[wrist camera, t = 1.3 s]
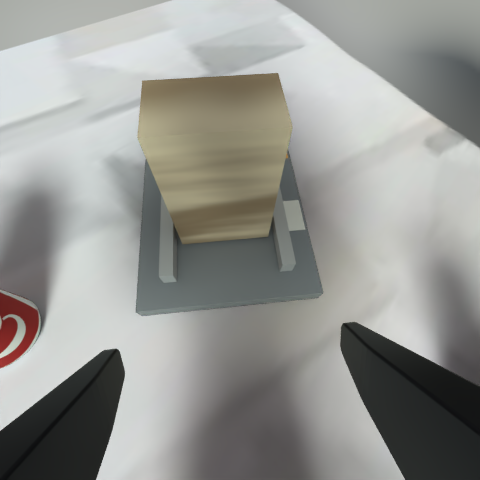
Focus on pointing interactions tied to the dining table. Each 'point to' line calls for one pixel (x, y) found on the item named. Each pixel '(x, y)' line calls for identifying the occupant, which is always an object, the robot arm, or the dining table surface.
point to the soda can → (17, 327)
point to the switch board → (224, 259)
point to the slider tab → (216, 152)
